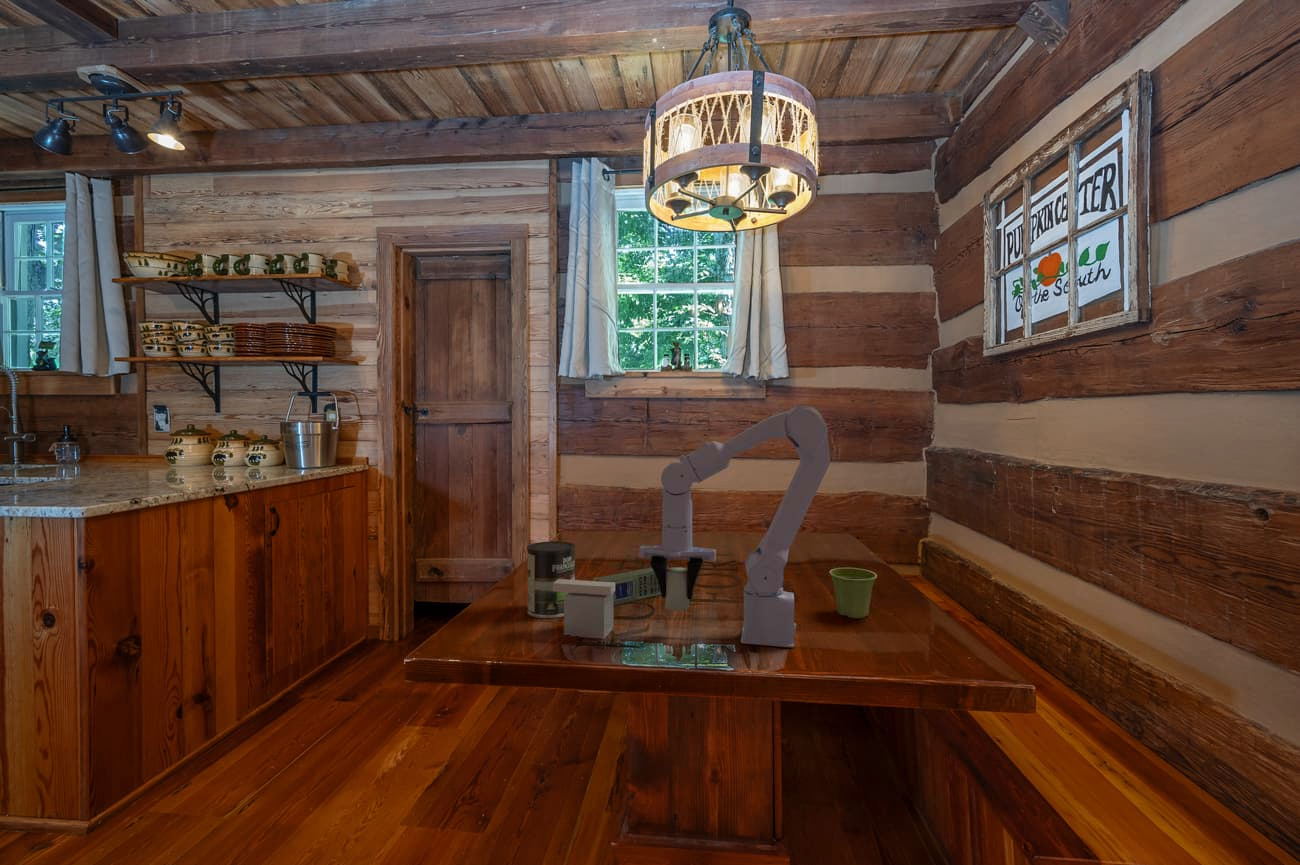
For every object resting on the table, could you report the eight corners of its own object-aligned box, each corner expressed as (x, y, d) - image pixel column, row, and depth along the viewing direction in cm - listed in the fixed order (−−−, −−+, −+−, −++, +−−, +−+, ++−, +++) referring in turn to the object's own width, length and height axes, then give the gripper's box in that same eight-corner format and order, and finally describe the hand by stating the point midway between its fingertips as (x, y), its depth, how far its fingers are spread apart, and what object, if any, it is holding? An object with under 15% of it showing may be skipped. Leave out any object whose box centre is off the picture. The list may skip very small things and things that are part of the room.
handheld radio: (670, 594, 133) (579, 616, 118) (662, 592, 136) (571, 612, 121) (670, 566, 134) (578, 584, 118) (661, 564, 136) (570, 581, 121)
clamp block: (613, 627, 111) (613, 589, 111) (604, 638, 105) (604, 599, 105) (575, 624, 113) (575, 587, 113) (564, 635, 107) (563, 596, 107)
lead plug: (690, 604, 108) (690, 568, 108) (686, 611, 104) (686, 573, 104) (668, 602, 109) (668, 566, 109) (663, 609, 105) (663, 572, 105)
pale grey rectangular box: (615, 590, 109) (615, 582, 109) (610, 595, 106) (610, 586, 106) (558, 587, 112) (558, 579, 112) (552, 591, 109) (552, 583, 109)
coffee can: (585, 609, 122) (585, 544, 122) (550, 622, 114) (549, 553, 114) (552, 600, 129) (552, 538, 128) (517, 612, 120) (516, 546, 120)
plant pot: (884, 621, 114) (884, 579, 114) (838, 621, 114) (838, 579, 114) (866, 606, 123) (866, 567, 123) (823, 607, 123) (823, 567, 123)
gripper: (634, 527, 104) (635, 600, 105) (712, 530, 101) (712, 605, 101) (643, 521, 111) (644, 589, 111) (717, 524, 108) (717, 594, 108)
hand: (677, 596), depth 107 cm, fingers closed on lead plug, 4 cm apart
